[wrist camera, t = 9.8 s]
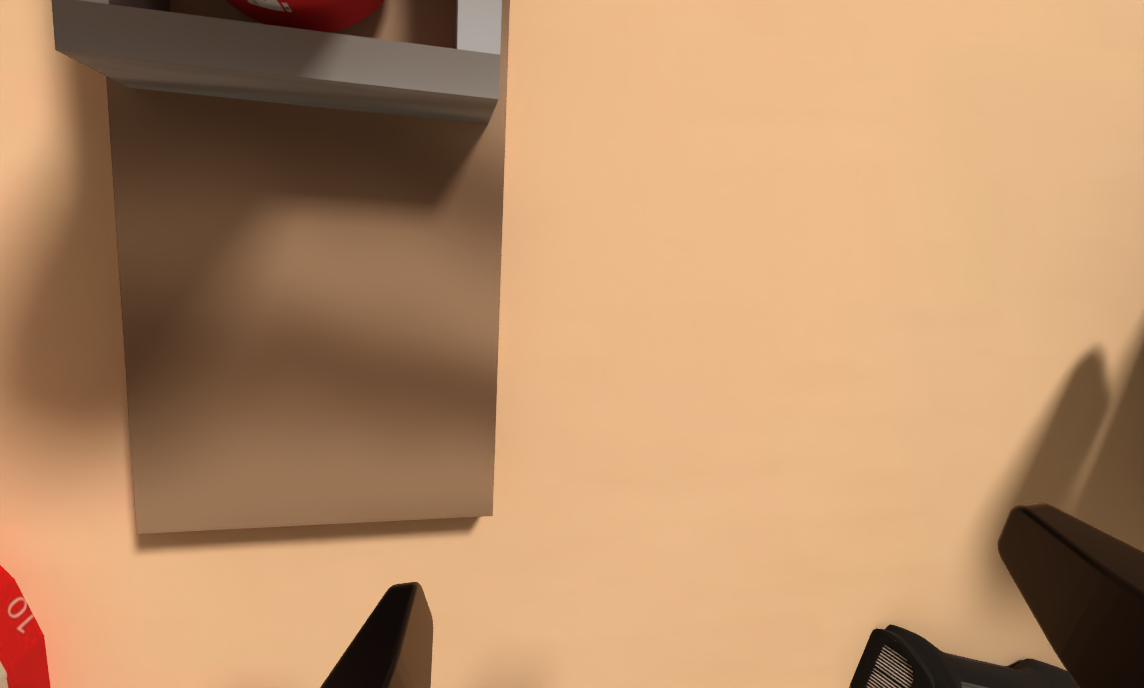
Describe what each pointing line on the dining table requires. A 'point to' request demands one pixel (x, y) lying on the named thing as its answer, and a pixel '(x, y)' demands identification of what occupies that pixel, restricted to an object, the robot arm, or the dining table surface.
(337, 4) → the beverage can
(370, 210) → the socket board
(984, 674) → the electric trimmer
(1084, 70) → the dining table surface
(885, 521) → the dining table surface
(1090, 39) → the dining table surface
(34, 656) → the kitchen timer
